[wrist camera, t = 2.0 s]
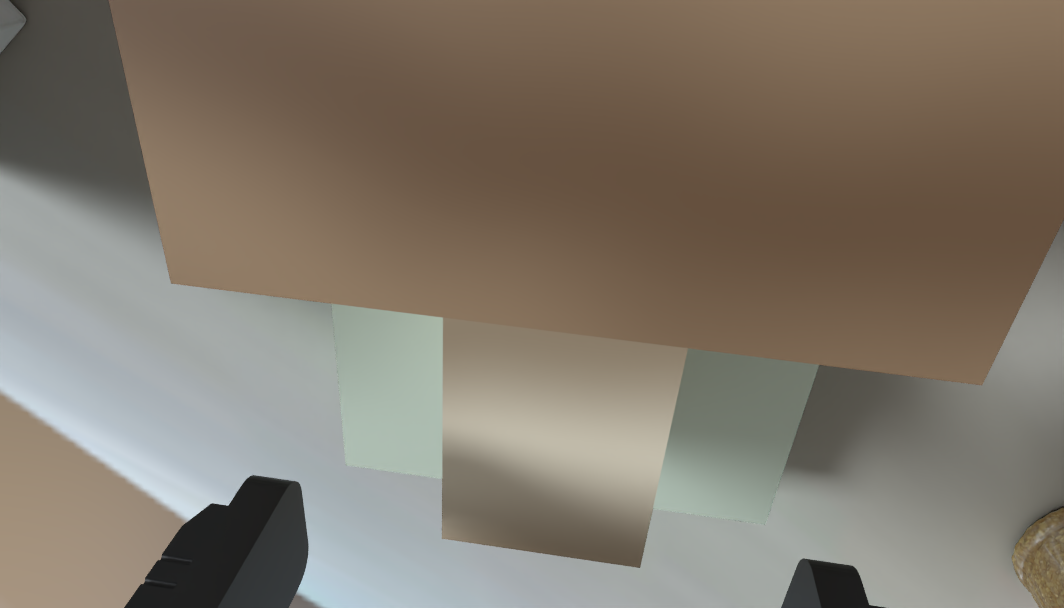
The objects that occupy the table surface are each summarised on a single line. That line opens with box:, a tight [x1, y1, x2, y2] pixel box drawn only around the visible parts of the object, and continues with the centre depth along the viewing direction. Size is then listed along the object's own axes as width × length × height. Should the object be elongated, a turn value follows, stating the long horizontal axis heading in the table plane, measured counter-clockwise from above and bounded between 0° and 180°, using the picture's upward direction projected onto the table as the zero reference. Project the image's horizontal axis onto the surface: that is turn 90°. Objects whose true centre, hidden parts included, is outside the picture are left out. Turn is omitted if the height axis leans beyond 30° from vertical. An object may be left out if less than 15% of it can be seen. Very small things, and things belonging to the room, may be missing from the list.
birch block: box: [442, 318, 688, 568], centre depth 14 cm, size 12×4×5 cm, turn 176°
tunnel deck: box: [108, 0, 1064, 525], centre depth 13 cm, size 23×12×10 cm, turn 176°
